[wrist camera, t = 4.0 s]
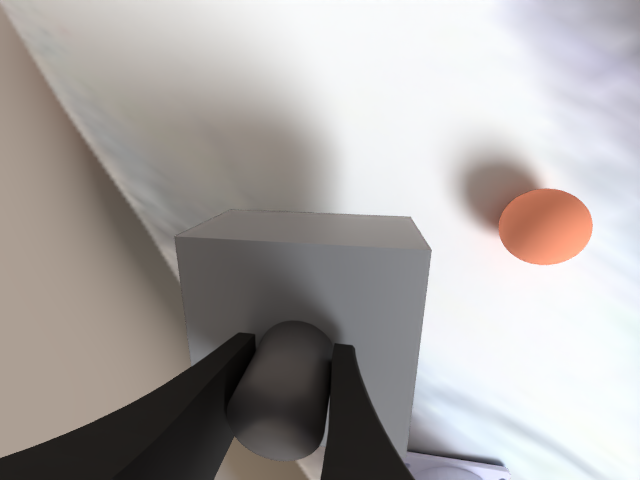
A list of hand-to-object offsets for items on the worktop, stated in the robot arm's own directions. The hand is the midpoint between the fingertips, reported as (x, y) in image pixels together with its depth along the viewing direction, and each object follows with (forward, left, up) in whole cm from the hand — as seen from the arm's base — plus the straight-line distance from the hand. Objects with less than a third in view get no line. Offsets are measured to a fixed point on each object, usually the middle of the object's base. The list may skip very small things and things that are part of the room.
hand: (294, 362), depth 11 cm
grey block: (0, 0, -5) cm, 5 cm away
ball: (+4, -12, -8) cm, 15 cm away
